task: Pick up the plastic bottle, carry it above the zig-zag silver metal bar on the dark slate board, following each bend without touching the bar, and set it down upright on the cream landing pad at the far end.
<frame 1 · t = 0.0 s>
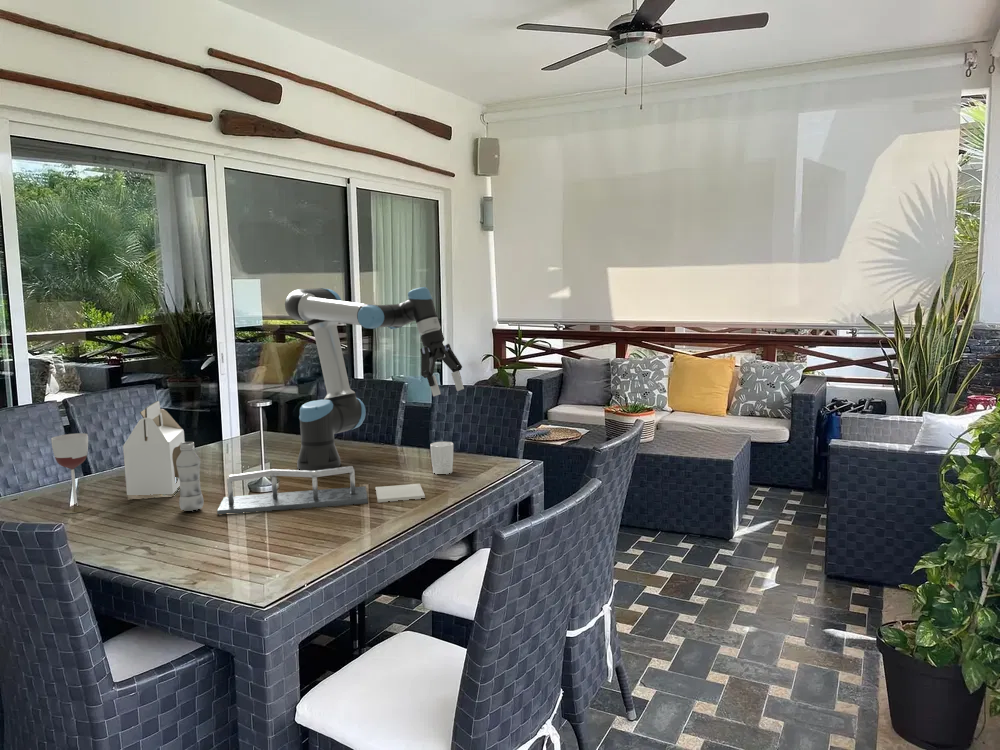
hand: (449, 392, 247), 28 cm above the table, tool tilted 20°, fingers open, 13 cm apart
white cup: (442, 473, 252), on the table
gable box: (158, 490, 237), on the table
landing pad: (399, 494, 226), on the table
plastic bottle: (192, 511, 213), on the table
wineglass: (76, 510, 217), on the table
grey platform with railing: (295, 502, 220), on the table
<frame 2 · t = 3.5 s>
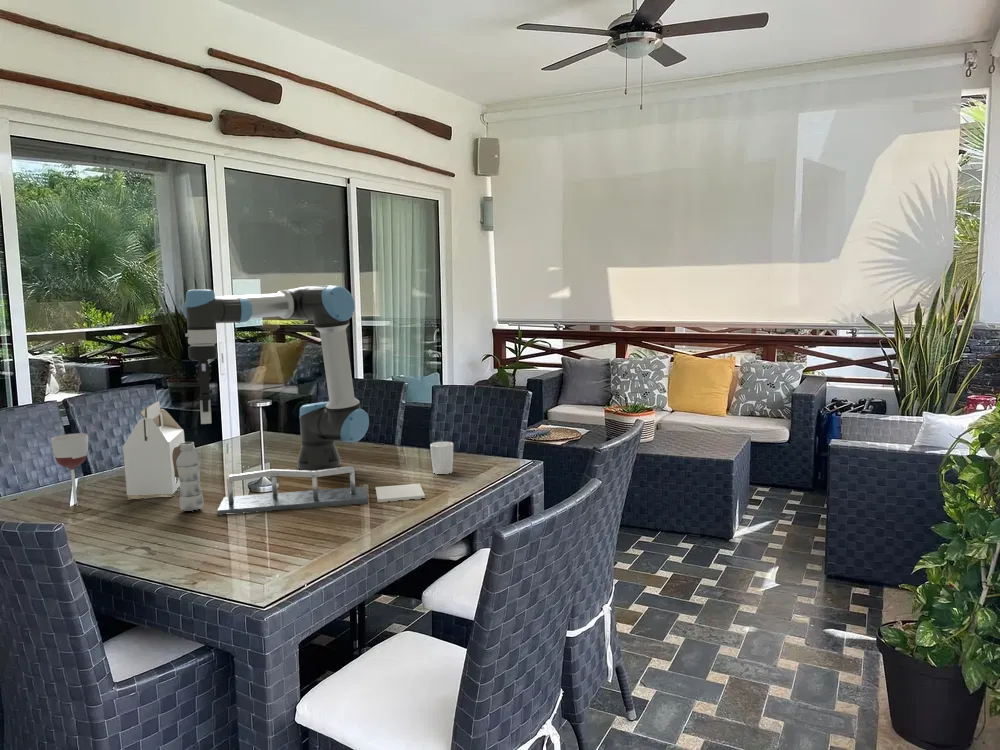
hand: (206, 420, 208), 27 cm above the table, tool pointing down, fingers open, 13 cm apart
nothing on the table moved.
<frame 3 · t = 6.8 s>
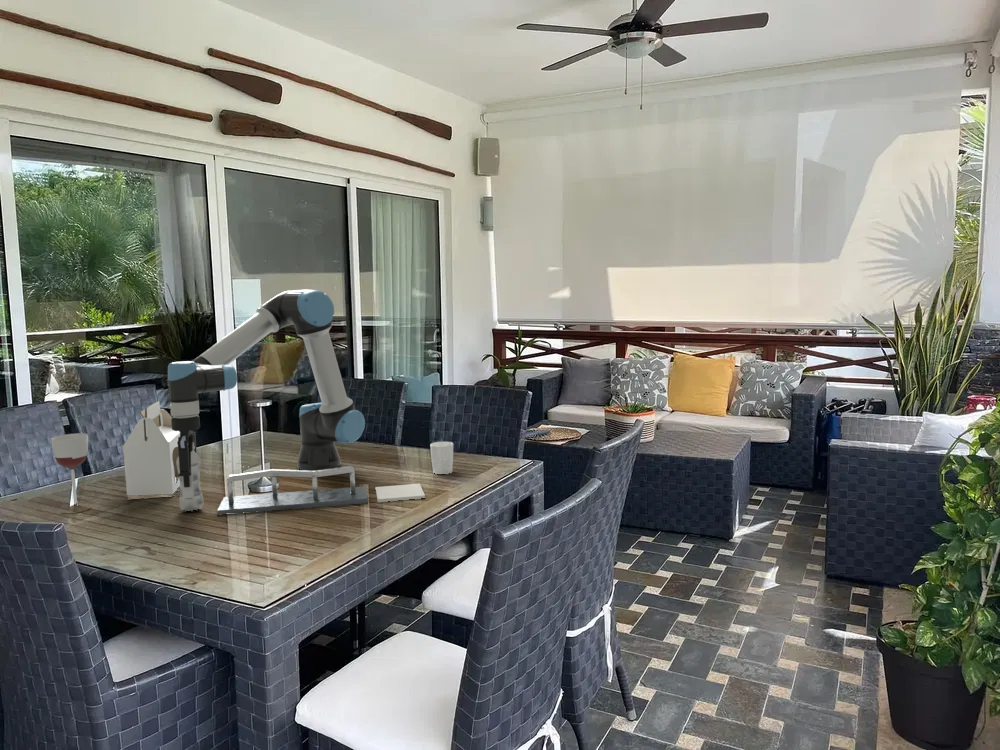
hand: (190, 494, 213), 5 cm above the table, tool pointing down, fingers closed on plastic bottle, 6 cm apart
plastic bottle: (192, 511, 213), on the table, touching gripper
everything else where it was.
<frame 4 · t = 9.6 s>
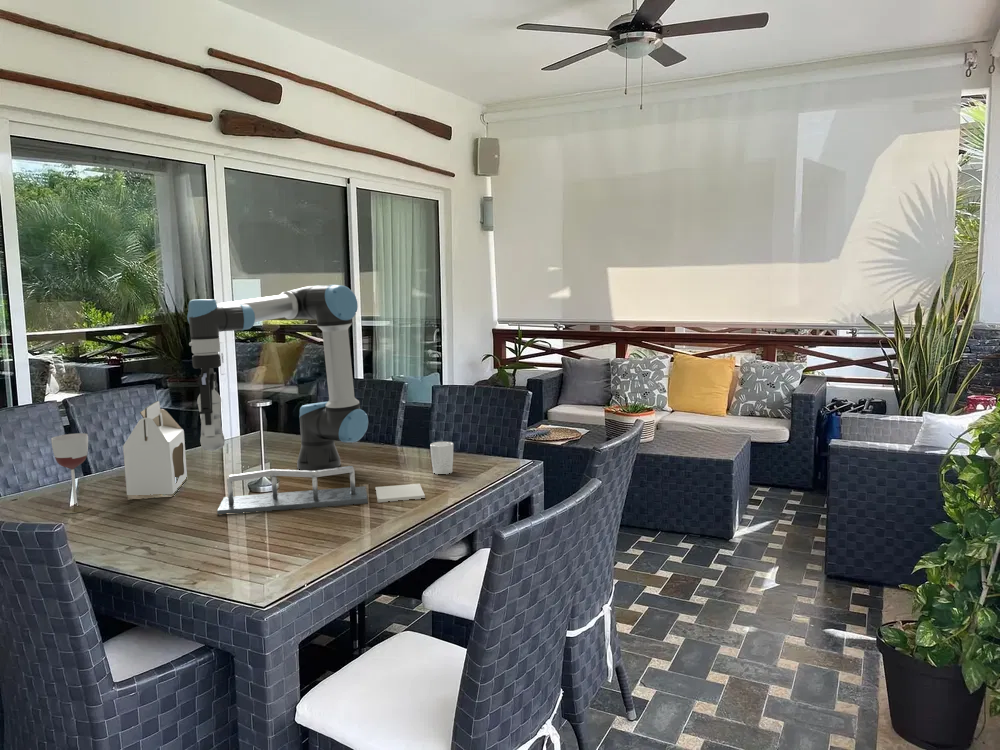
hand: (212, 433, 212), 22 cm above the table, tool pointing down, fingers closed on plastic bottle, 6 cm apart
plastic bottle: (213, 450, 213), point 17 cm above the table, touching gripper
everything else where it was.
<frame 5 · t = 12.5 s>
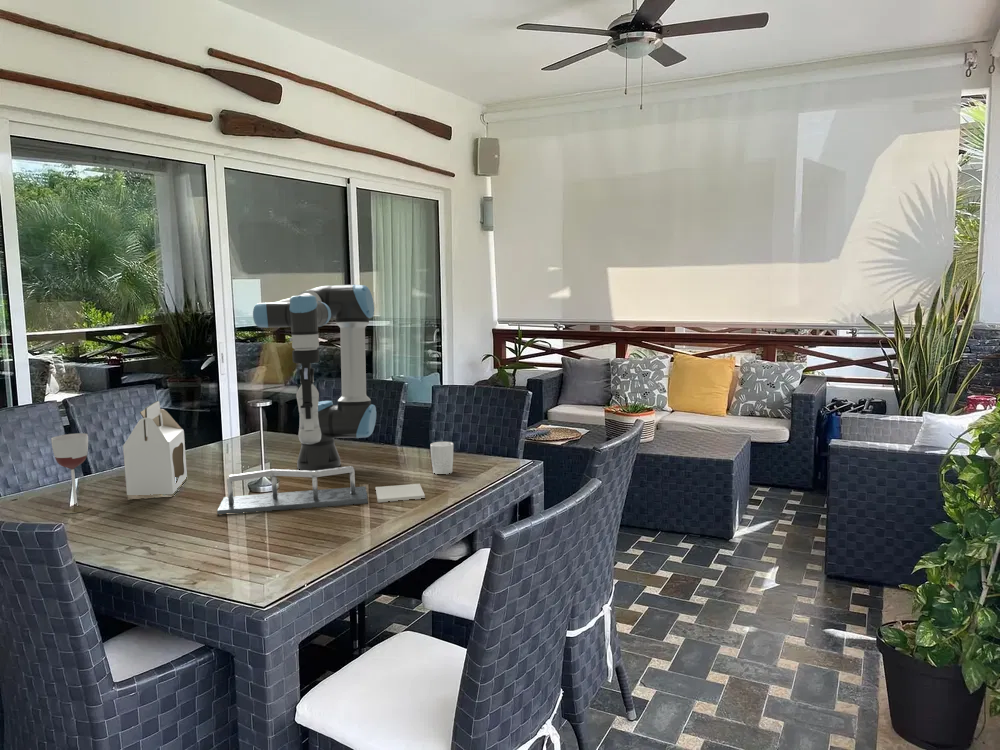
hand: (309, 427, 215), 23 cm above the table, tool pointing down, fingers closed on plastic bottle, 6 cm apart
plastic bottle: (310, 444, 216), point 18 cm above the table, touching gripper
everything else where it was.
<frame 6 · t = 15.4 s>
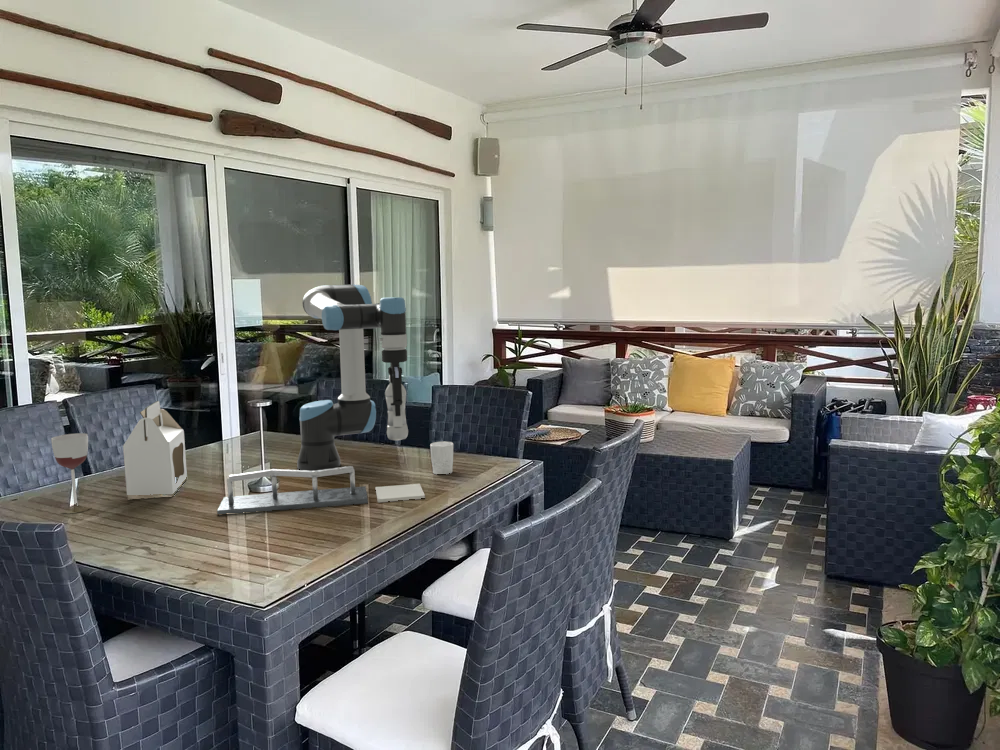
hand: (397, 424, 224), 22 cm above the table, tool pointing down, fingers closed on plastic bottle, 6 cm apart
plastic bottle: (397, 440, 224), point 17 cm above the table, touching gripper
everything else where it was.
when the fingers open (7 cm above the table, at t = 18.2 s): plastic bottle drops 1 cm, resting on landing pad.
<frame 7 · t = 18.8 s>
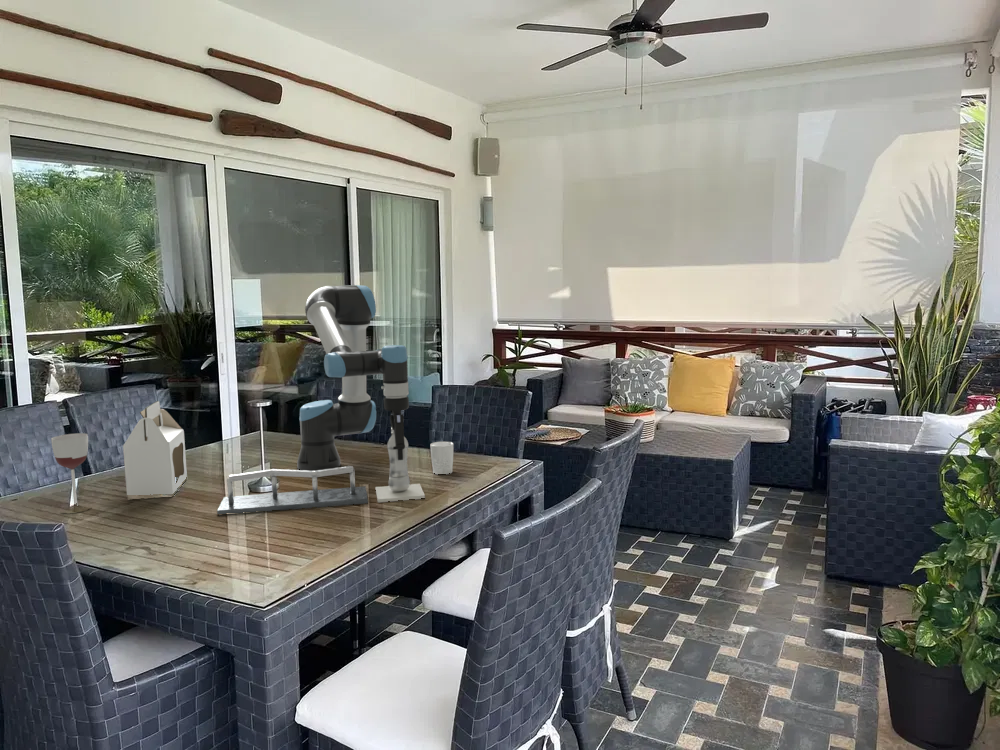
hand: (398, 465, 225), 9 cm above the table, tool pointing down, fingers open, 13 cm apart
plastic bottle: (399, 491, 226), point 1 cm above the table, touching landing pad
everything else where it was.
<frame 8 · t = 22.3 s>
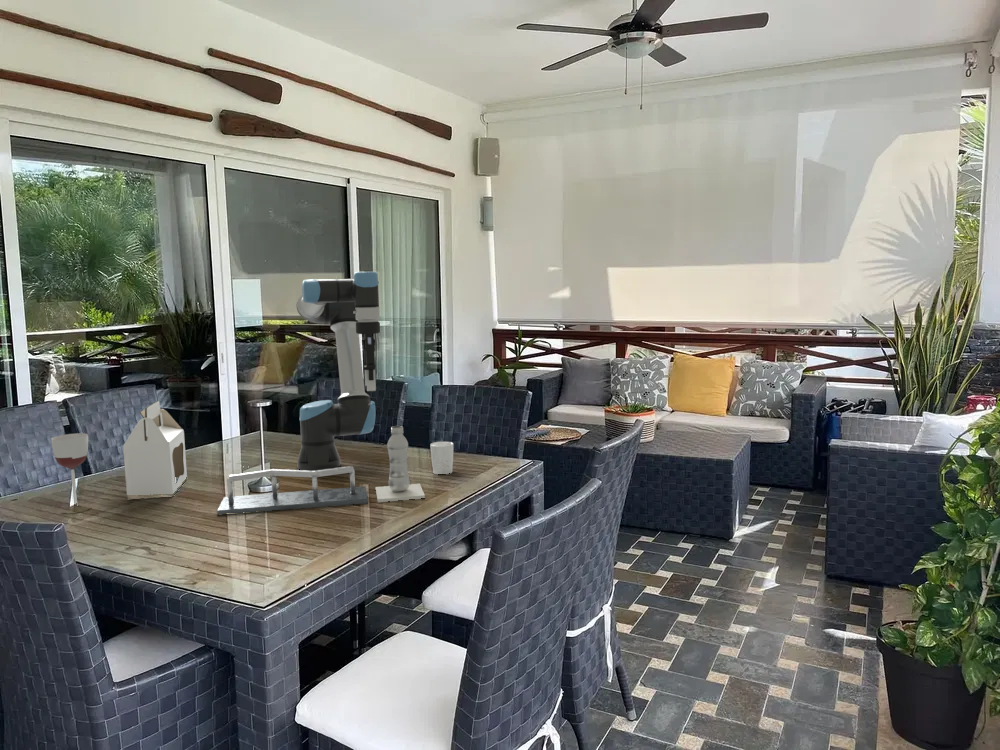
hand: (370, 388, 234), 32 cm above the table, tool pointing down, fingers open, 13 cm apart
nothing on the table moved.
at the end: plastic bottle inside the target area on the landing pad (0.1 cm from its centre), point 0.8 cm above the landing pad's base; plastic bottle tilted 0°; plastic bottle touching landing pad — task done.
